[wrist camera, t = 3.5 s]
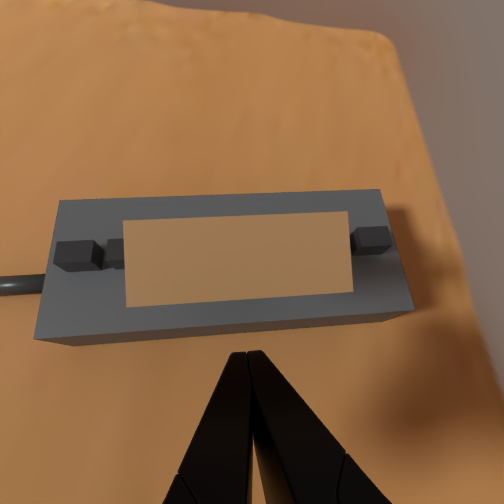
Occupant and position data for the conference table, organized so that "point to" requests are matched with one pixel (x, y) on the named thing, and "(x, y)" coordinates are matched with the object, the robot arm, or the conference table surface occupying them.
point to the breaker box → (203, 313)
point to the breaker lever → (236, 257)
